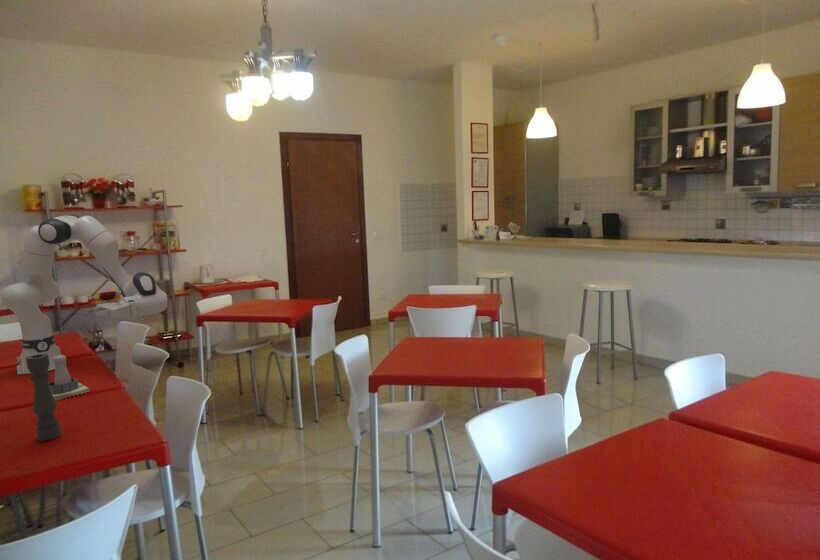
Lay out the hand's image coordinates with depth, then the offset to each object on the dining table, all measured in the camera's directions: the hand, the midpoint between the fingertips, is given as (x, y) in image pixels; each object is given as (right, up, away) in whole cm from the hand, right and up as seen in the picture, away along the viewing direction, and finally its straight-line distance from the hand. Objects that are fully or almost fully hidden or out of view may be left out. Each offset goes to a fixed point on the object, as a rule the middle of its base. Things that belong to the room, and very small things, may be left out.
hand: (91, 313), depth 236 cm
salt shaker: (-3, -28, -13) cm, 31 cm away
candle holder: (+17, -34, -56) cm, 68 cm away
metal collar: (-3, -28, -14) cm, 31 cm away
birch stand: (-3, -29, -13) cm, 32 cm away
